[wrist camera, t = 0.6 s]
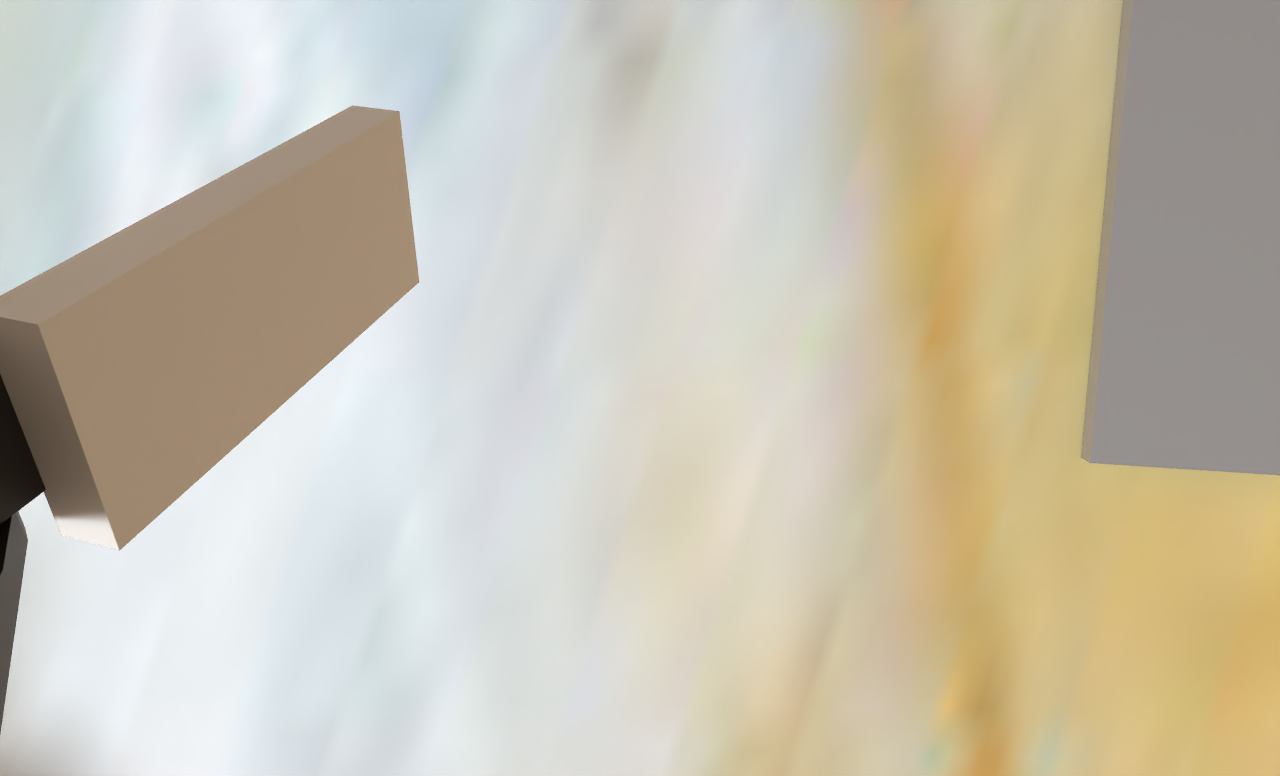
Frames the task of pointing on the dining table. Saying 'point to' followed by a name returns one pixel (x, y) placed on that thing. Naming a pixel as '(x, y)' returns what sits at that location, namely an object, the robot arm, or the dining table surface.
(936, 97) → the dining table surface
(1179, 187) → the slate tile
